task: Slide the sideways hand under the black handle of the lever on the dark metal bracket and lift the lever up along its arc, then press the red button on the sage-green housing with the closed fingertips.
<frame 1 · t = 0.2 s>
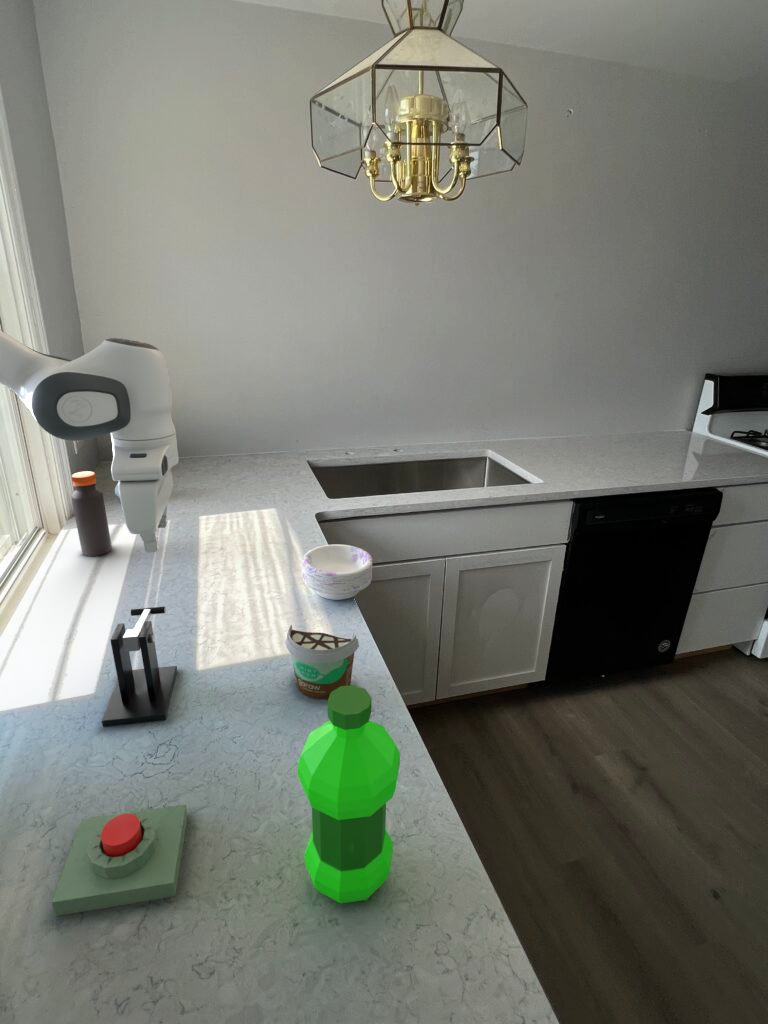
hand: (157, 537, 88), 25 cm above the worktop, tool pointing down, fingers open, 8 cm apart
bracket: (142, 697, 90), on the worktop
air freshener: (135, 498, 173), on the worktop
button: (121, 834, 62), point 4 cm above the worktop, slide at 0.1 cm
lever: (140, 625, 91), point 10 cm above the worktop, hinge at -8.0°
food container: (318, 692, 92), on the worktop
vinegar: (97, 551, 139), on the worktop
paper bowls: (337, 590, 124), on the worktop
button box: (127, 862, 64), on the worktop
plastic bottle: (349, 877, 63), on the worktop
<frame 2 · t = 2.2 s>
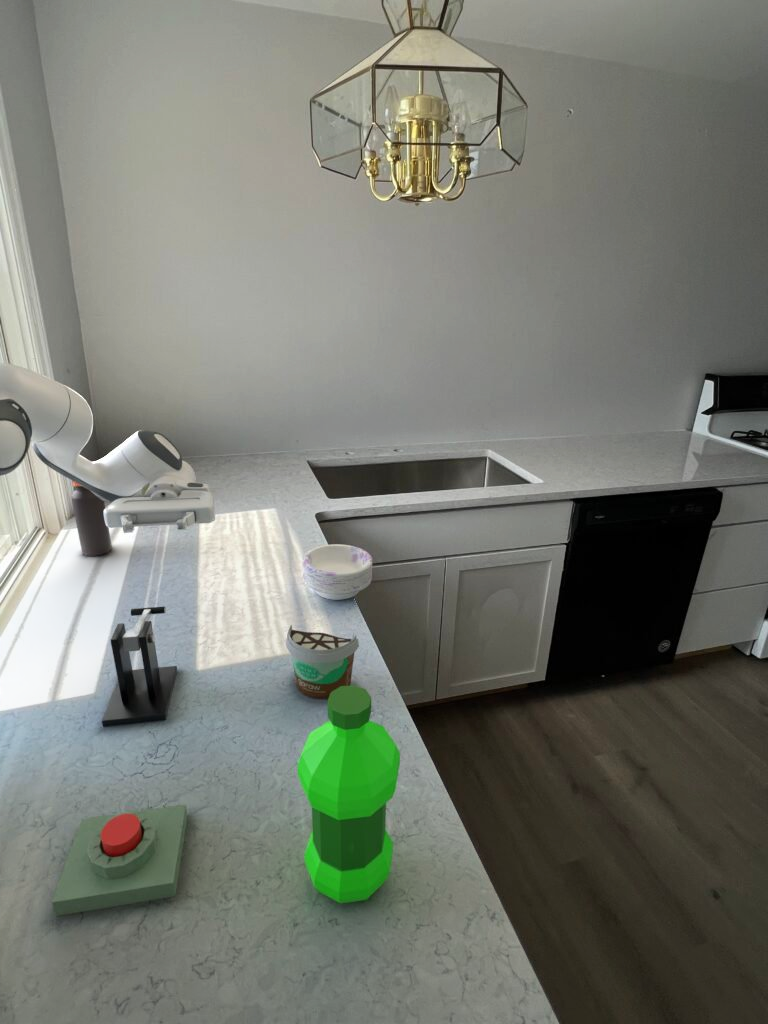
hand: (154, 527, 102), 20 cm above the worktop, tool horizontal, fingers open, 8 cm apart
nothing on the worktop moved.
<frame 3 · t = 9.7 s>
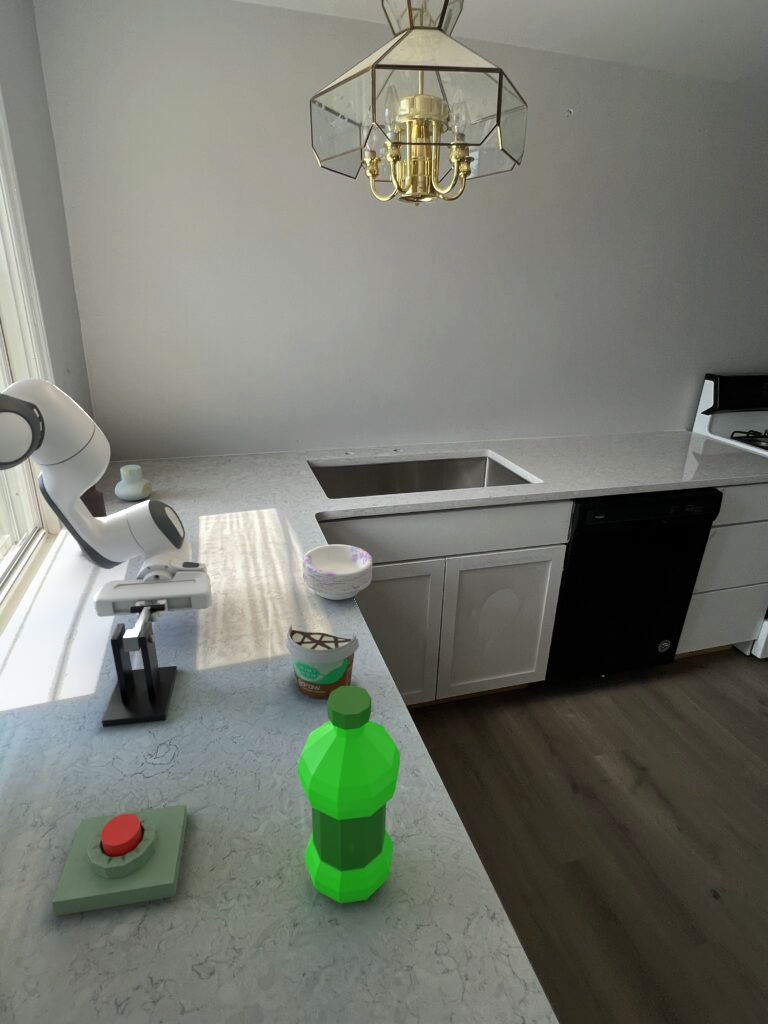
hand: (147, 619, 96), 8 cm above the worktop, tool horizontal, fingers closed, pressing on lever
lever: (140, 624, 91), point 11 cm above the worktop, hinge at -5.5°, touching gripper
everything else where it was.
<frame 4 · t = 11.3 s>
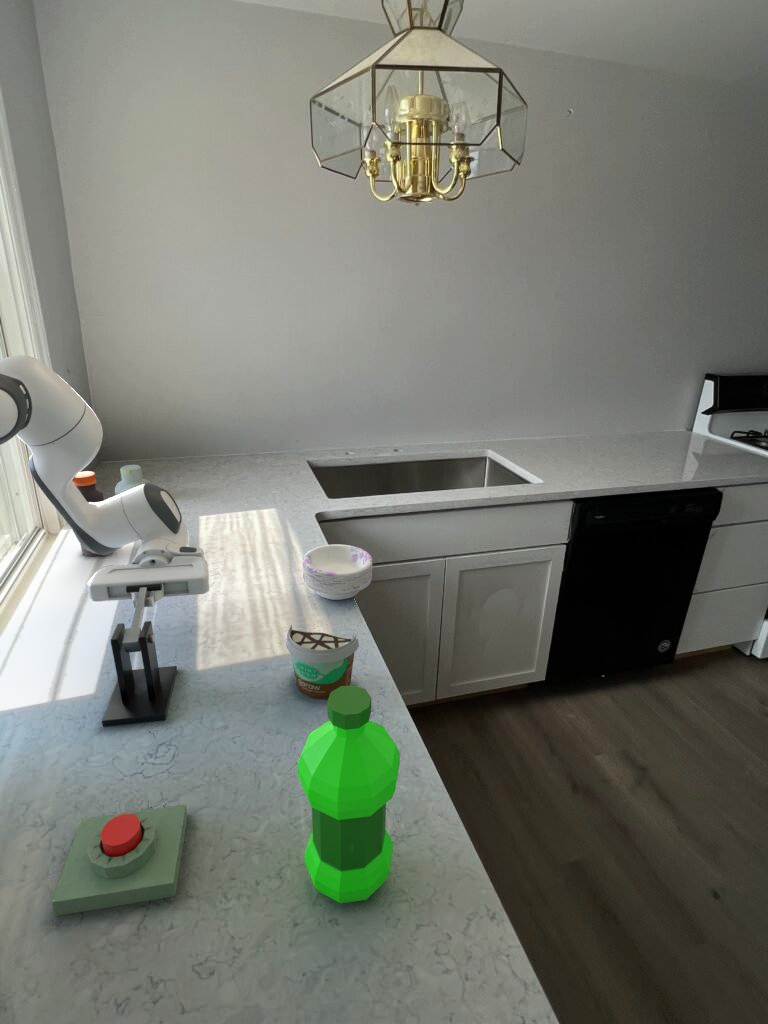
hand: (142, 603, 93), 12 cm above the worktop, tool horizontal, fingers closed, pressing on lever
lever: (138, 614, 90), point 12 cm above the worktop, hinge at 17.0°, touching gripper
everything else where it was.
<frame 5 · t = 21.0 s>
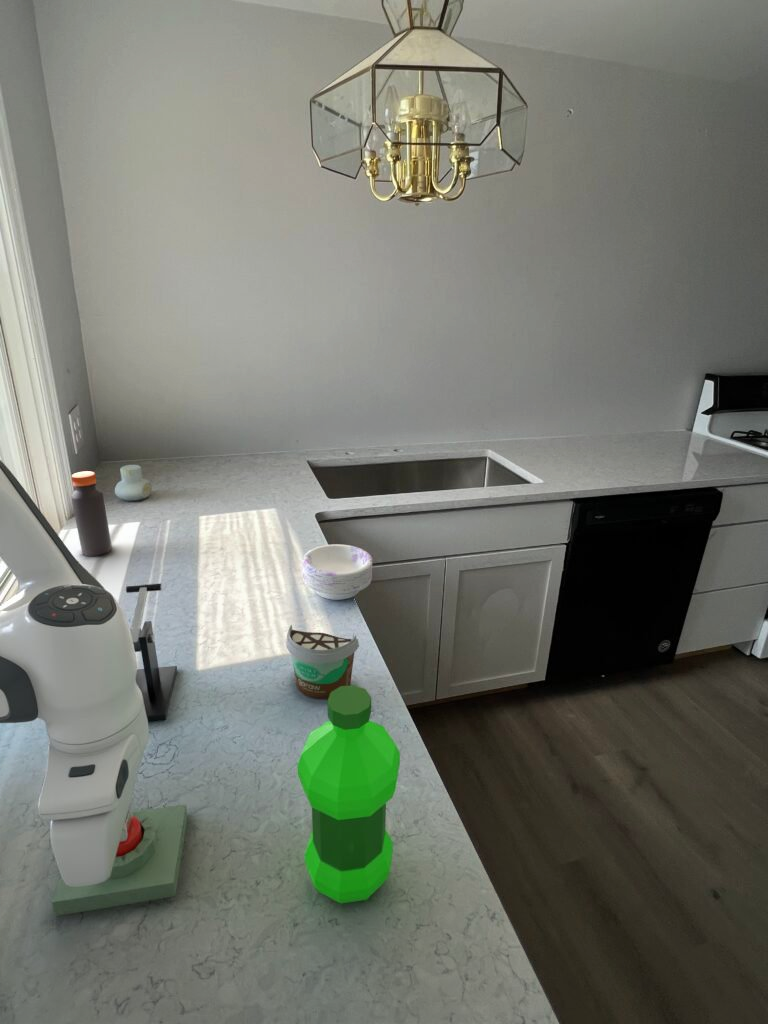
hand: (122, 830, 62), 5 cm above the worktop, tool pointing down, fingers closed, pressing on button
button: (122, 836, 63), point 4 cm above the worktop, slide at -0.2 cm, touching gripper
lever: (138, 614, 90), point 12 cm above the worktop, hinge at 17.1°
everything else where it was.
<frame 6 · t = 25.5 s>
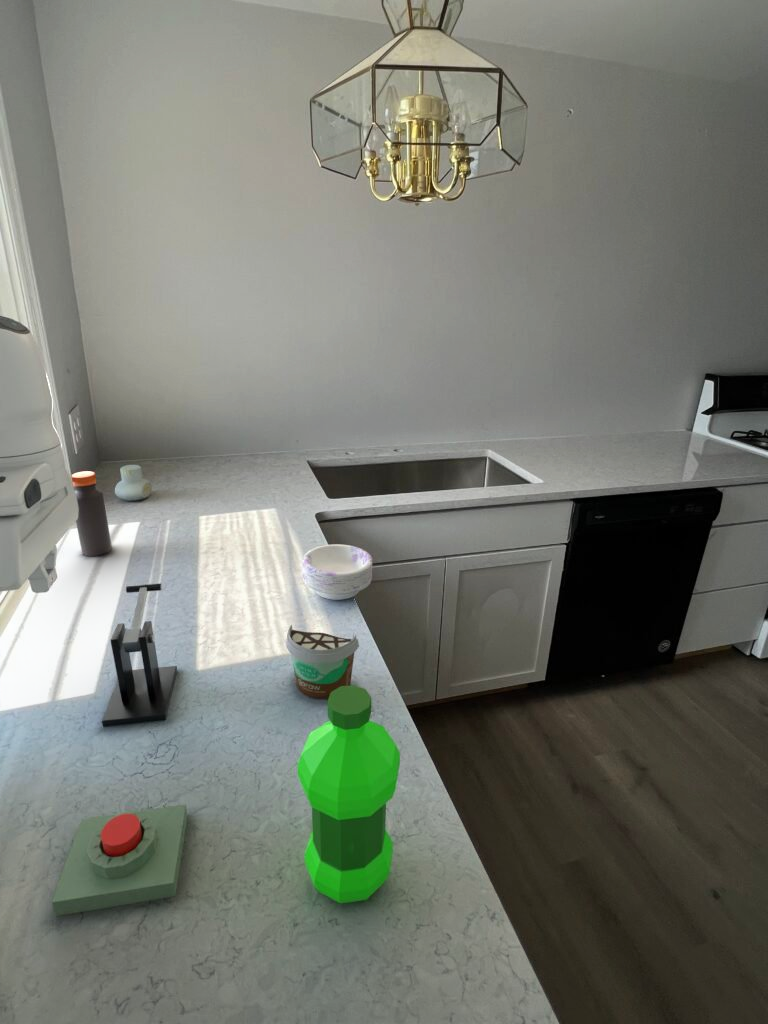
hand: (45, 586, 65), 29 cm above the worktop, tool pointing down, fingers closed
button: (121, 834, 62), point 4 cm above the worktop, slide at 0.1 cm
everything else where it was.
at the end: lever at +17° (first picture: -8°); button pushed in 1.0 cm at the most during the clip, back to where it started at the end; button slide at 0.1 cm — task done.
